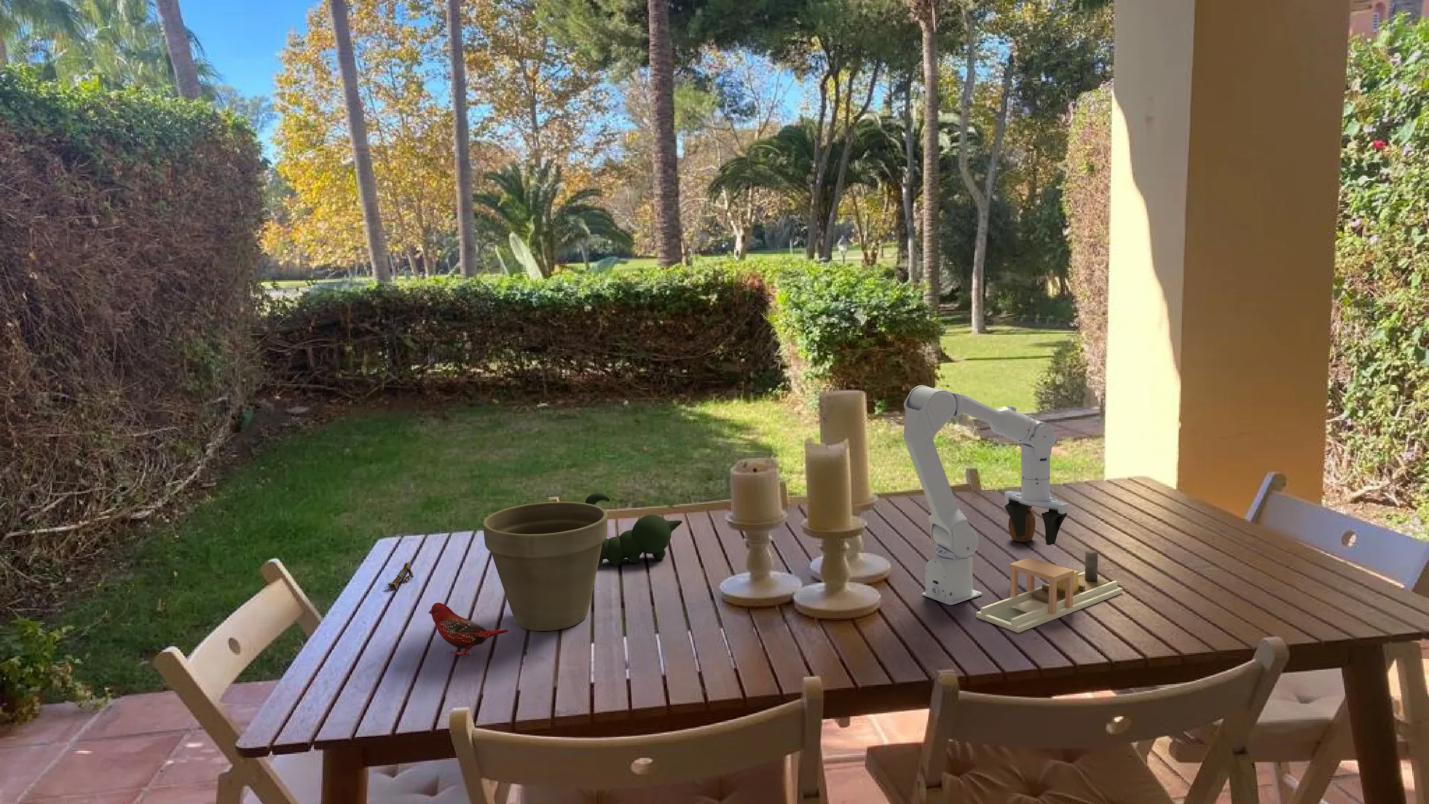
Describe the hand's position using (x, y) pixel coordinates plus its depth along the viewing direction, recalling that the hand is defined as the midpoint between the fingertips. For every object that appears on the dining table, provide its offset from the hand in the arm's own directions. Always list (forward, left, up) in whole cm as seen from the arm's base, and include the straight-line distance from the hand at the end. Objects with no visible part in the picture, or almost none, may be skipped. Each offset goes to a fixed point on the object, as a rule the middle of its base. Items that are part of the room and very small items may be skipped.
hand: (1035, 540), depth 195 cm
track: (-8, -10, -9) cm, 16 cm away
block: (-4, -10, -7) cm, 13 cm away
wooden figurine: (+22, +21, -10) cm, 32 cm away
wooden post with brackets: (-108, +93, -10) cm, 143 cm away
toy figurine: (-59, +71, -10) cm, 93 cm away
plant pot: (-89, +49, -10) cm, 102 cm away
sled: (-2, -10, -8) cm, 13 cm away
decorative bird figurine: (-109, +41, -10) cm, 117 cm away
